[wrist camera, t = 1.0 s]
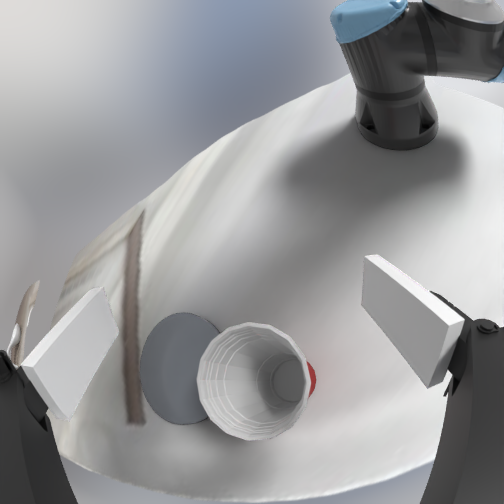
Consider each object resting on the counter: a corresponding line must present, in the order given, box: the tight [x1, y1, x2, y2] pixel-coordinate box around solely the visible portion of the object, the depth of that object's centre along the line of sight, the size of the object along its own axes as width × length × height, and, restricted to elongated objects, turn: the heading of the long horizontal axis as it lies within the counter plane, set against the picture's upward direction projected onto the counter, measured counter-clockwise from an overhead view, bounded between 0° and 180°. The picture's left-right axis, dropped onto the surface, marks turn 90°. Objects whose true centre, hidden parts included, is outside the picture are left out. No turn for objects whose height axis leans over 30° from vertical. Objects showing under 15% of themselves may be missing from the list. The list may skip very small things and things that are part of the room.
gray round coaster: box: [140, 313, 220, 424], centre depth 38 cm, size 18×18×2 cm
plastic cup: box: [197, 322, 316, 441], centre depth 25 cm, size 11×11×12 cm
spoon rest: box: [7, 324, 21, 369], centre depth 86 cm, size 24×12×7 cm, turn 16°
